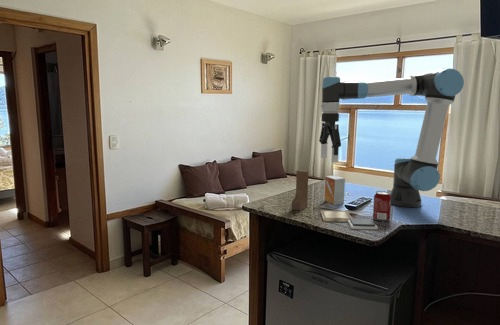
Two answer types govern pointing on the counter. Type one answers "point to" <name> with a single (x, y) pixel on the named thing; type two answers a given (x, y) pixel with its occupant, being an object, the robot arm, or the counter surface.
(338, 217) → the board
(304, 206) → the wooden block
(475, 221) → the counter surface
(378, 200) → the soda can
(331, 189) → the small box
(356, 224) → the pad
